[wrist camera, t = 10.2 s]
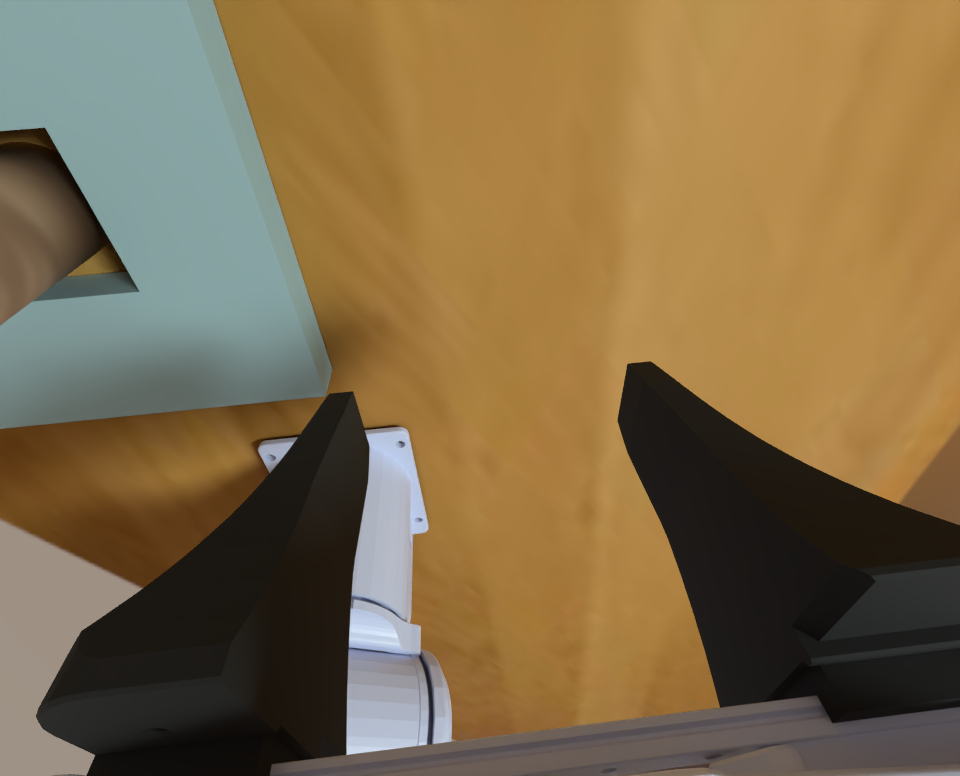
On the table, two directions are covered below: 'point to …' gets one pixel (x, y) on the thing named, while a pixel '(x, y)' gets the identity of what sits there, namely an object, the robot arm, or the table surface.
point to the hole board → (152, 221)
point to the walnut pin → (40, 224)
